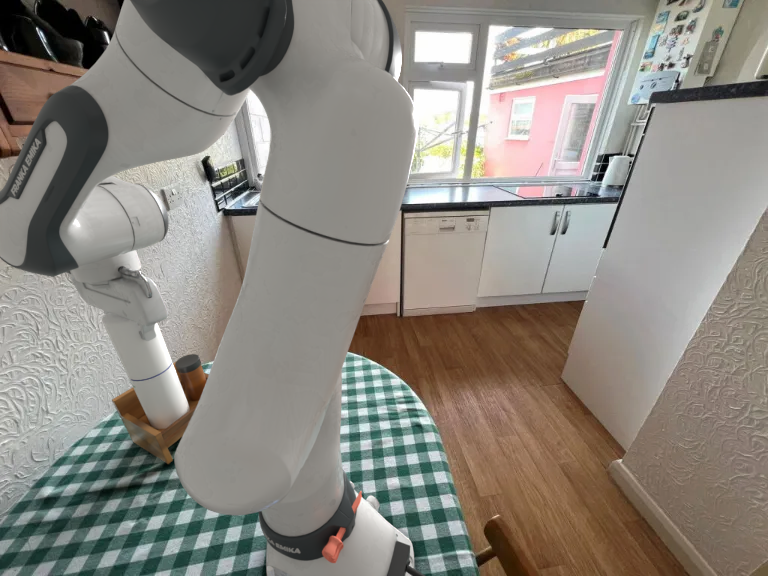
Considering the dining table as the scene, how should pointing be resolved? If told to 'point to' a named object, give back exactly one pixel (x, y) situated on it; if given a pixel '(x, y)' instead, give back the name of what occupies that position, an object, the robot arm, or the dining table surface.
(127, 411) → the spice rack
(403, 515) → the dining table surface
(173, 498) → the dining table surface
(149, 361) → the cylindrical container
